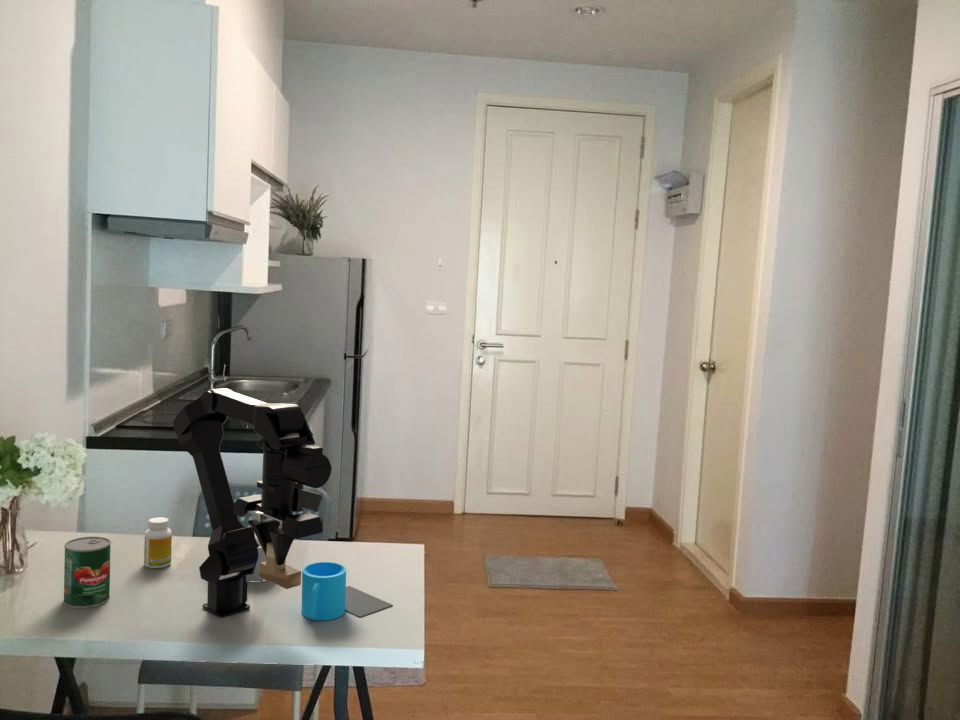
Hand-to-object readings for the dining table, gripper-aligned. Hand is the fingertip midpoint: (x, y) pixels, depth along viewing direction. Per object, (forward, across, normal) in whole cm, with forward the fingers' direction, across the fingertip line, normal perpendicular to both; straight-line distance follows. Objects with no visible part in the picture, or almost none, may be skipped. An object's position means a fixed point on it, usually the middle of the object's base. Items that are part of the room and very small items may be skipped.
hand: (275, 562), depth 148 cm
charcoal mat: (+13, +1, -20) cm, 23 cm away
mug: (+13, 0, -10) cm, 16 cm away
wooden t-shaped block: (+4, 0, 0) cm, 4 cm away
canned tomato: (+13, +34, +18) cm, 40 cm away
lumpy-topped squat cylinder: (+13, +28, -12) cm, 33 cm away
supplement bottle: (+13, +43, -2) cm, 45 cm away
